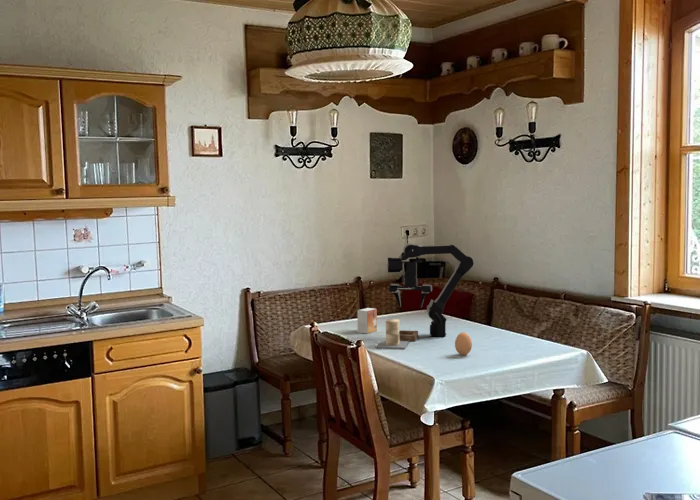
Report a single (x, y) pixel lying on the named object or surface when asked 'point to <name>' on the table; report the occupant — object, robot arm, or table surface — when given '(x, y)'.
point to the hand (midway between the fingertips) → (410, 307)
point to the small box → (367, 320)
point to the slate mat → (400, 346)
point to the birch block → (392, 332)
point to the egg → (463, 343)
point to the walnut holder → (408, 335)
